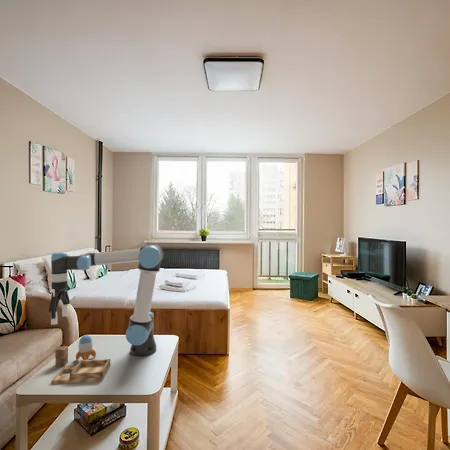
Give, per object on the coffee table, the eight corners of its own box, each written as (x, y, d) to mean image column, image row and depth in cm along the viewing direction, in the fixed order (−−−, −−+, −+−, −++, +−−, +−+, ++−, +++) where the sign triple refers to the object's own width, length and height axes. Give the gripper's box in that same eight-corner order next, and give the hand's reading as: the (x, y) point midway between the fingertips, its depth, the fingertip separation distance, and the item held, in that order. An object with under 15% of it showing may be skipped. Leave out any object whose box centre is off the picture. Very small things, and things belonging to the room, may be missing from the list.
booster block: (67, 362, 160) (67, 346, 160) (64, 366, 155) (64, 349, 155) (59, 362, 159) (59, 346, 159) (55, 366, 155) (55, 349, 155)
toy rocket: (88, 367, 156) (81, 341, 155) (71, 368, 158) (64, 343, 157) (100, 356, 166) (93, 331, 165) (83, 357, 168) (77, 333, 167)
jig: (110, 366, 156) (110, 358, 156) (102, 380, 141) (102, 372, 141) (65, 368, 153) (65, 360, 153) (51, 383, 138) (51, 375, 138)
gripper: (61, 277, 170) (62, 313, 170) (40, 286, 145) (41, 328, 145) (75, 276, 171) (75, 312, 171) (56, 285, 146) (57, 327, 146)
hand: (59, 320), depth 158 cm, fingers open, 13 cm apart
